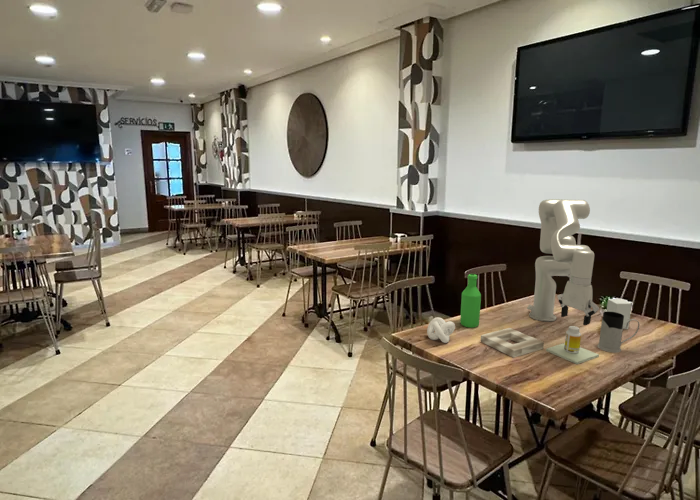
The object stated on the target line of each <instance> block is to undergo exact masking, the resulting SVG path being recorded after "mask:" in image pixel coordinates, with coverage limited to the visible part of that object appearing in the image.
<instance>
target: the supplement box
mask: <svg viewBox="0 0 700 500" xmlns="http://www.w3.org/2000/svg"><path fill="white" fill-rule="evenodd" d="M606 312H616V313H620V314H622V315H624V321H623V327H626V326H627V322H628V321H629V320H631V312H632V303H631V302H629V301H627V300H625V299H624V298H623V299H622V298H616V299H615V298H611V299H610V298H608V300H607V304H606ZM629 326H630V323H629V324H628V327H627V328H626V329H625V330H629V328H630V327H629Z"/></svg>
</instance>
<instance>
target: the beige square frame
mask: <svg viewBox="0 0 700 500" xmlns="http://www.w3.org/2000/svg"><path fill="white" fill-rule="evenodd" d="M510 340H511V341H513V342H515V343H511V342H508V341H510ZM480 343H482V344H484V345H487V346H489V347H491V348H493V349H495V350H497V351H499V352H501V353H502V354H505V355H508V356H510V357H512V358H517V357H521V356H524V355H527V354H531V353H533V352H536V351H540V350H544V345H545V342H544V341H542V340H540V339H538V338H536V337H533V336H531V335H528V334H526V333H523V332H520V331H519V330H515V329H514V328H511V327H508V328H503V329H499V330H495V331H491V332H489V333H488V332H487V333H484V334H481V335H480Z"/></svg>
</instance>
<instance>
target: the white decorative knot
mask: <svg viewBox="0 0 700 500" xmlns="http://www.w3.org/2000/svg"><path fill="white" fill-rule="evenodd" d="M428 323H429V324H428V325H427V329H426V330H427V331H426V334H427V336H428V338H429V339H430V340H432V341H436V340H440V341H441V342H442V343H444V344H447V343H449V341H450V336H451V335H452V334H453V333H454V331H455V329H456V324H455V322H454V321H451V320H450V321H449V320H448V321H446V320H445V319H443V318H442V317H439V316H438V317H434V318H432V319H431V320H430V322H428Z"/></svg>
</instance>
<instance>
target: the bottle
mask: <svg viewBox="0 0 700 500" xmlns="http://www.w3.org/2000/svg"><path fill="white" fill-rule="evenodd" d="M477 280H478V275H477V274H474V273H470V274H468V275H467V286H466V287H465V289H464V290H463V291H462V292H461V304H460V316H459V317H460V319H459V322H460V324H461V325H462V326H463V327H465V328H472V329H473V328H477V327H479V325H480V316H481V301H482V294H481V292H480V291H479V289H478V287H477V282H478V281H477Z"/></svg>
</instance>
